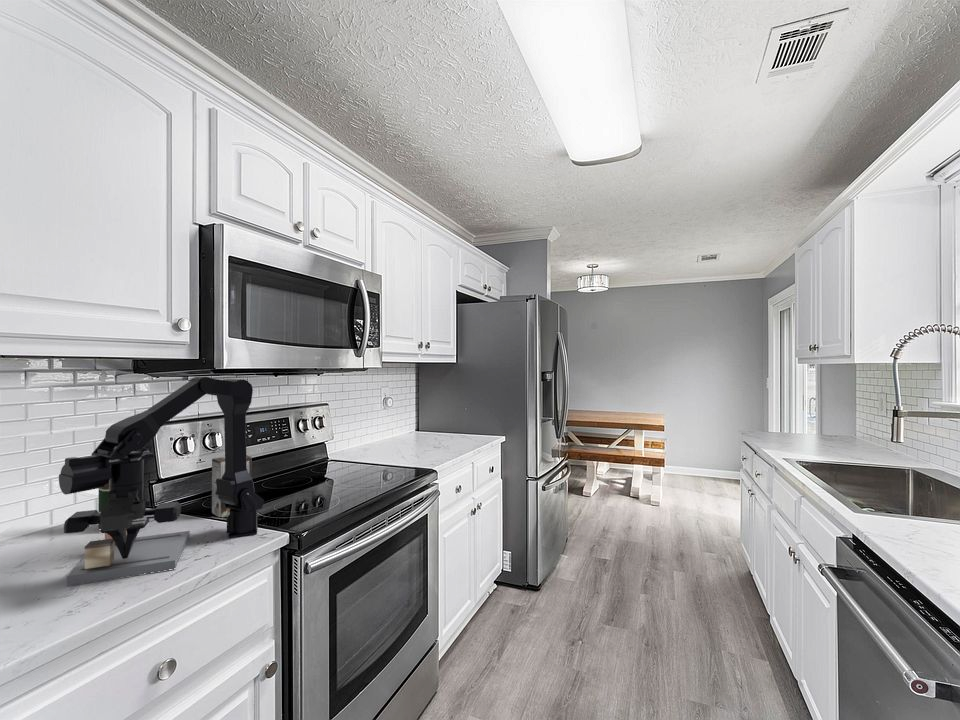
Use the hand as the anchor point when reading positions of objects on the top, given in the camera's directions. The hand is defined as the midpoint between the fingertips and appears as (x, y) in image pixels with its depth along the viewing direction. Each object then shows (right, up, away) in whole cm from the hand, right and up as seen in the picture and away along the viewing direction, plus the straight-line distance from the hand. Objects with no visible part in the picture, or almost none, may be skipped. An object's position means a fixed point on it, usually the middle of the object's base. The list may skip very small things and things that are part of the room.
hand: (125, 557), depth 97 cm
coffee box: (+1, -4, +40) cm, 40 cm away
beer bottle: (-23, -4, +27) cm, 36 cm away
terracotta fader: (-10, -1, +11) cm, 15 cm away
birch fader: (-4, -1, -2) cm, 4 cm away
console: (-3, -3, +7) cm, 8 cm away
